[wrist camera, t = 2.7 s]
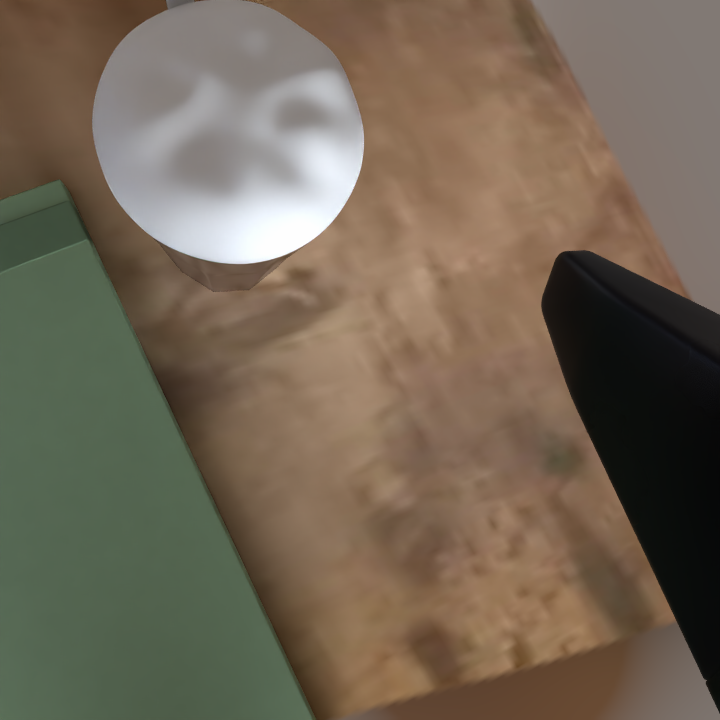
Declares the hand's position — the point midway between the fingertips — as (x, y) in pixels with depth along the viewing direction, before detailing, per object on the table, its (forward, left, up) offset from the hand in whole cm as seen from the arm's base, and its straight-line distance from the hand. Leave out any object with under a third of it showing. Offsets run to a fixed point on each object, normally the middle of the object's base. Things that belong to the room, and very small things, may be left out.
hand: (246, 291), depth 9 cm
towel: (-4, +7, -10) cm, 13 cm away
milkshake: (+3, -1, -11) cm, 11 cm away
